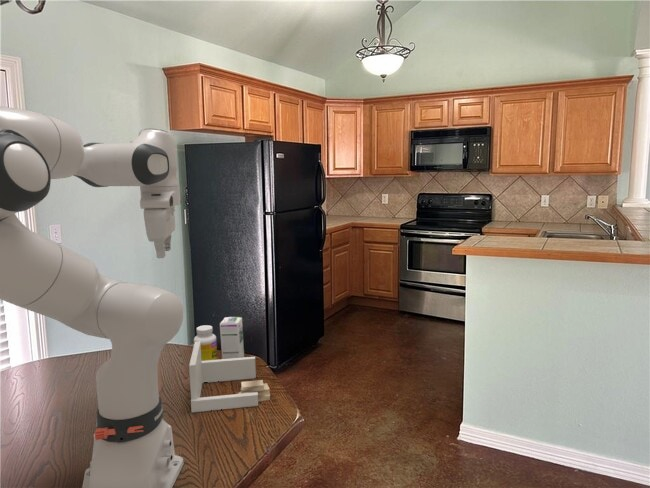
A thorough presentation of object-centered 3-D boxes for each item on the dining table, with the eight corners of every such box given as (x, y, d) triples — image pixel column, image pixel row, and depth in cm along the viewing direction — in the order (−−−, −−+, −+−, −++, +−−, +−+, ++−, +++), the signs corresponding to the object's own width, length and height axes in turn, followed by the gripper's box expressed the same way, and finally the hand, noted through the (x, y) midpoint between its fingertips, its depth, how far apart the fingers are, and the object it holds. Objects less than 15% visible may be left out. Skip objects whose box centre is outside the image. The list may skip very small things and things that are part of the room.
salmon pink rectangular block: (159, 393, 126) (155, 344, 124) (140, 395, 126) (136, 345, 123) (161, 386, 130) (158, 339, 128) (143, 388, 129) (139, 340, 127)
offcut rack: (258, 405, 119) (256, 361, 117) (191, 412, 117) (188, 367, 115) (255, 375, 136) (254, 336, 134) (197, 381, 134) (195, 341, 132)
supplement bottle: (214, 372, 139) (212, 331, 137) (192, 372, 139) (190, 331, 137) (220, 363, 145) (218, 323, 143) (198, 363, 145) (196, 324, 143)
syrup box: (241, 368, 142) (239, 322, 139) (221, 368, 142) (219, 322, 139) (244, 360, 147) (242, 316, 145) (226, 360, 147) (223, 316, 145)
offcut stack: (239, 405, 120) (238, 388, 120) (237, 397, 124) (237, 381, 124) (270, 400, 122) (269, 384, 122) (268, 393, 126) (267, 377, 126)
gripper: (154, 195, 123) (157, 247, 125) (138, 201, 103) (142, 262, 106) (179, 195, 124) (182, 246, 127) (167, 201, 104) (171, 261, 107)
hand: (164, 254), depth 116 cm, fingers open, 8 cm apart
